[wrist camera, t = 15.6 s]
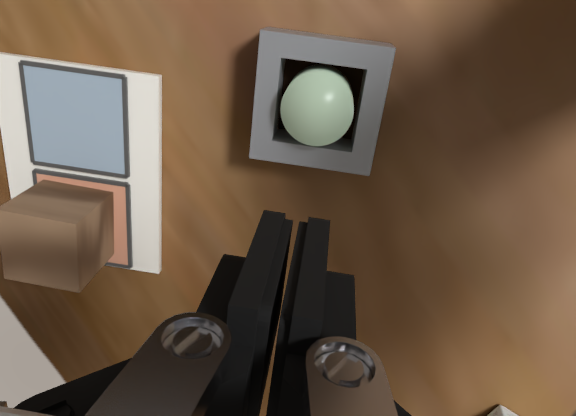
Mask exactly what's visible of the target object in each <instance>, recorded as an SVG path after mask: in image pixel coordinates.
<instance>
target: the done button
mask: <svg viewBox="0 0 576 416" xmlns="http://www.w3.org/2000/svg"><path fill="white" fill-rule="evenodd" d="M280 112H281V118H282V122H283V124H284V126H285V128H286V130H287V131H288V133H289V134H290V135H291V136H292V137H293V138H295V139H296V140H298V141H299V142H301V143H303V144H306V145H310V146H324V145H328V144H331V143H333V142H335V141H337V140H338V139H340V138H341V137H342V136H343V135H344V134H345V133H346V131H347V130H348V129H349V127H350V125H351V122H352V119H353V115H354V103H353V94H352V88H351V85H350V83H349V81H348V79H347V78H346V76H345V75H344V74H343V73H342V72H341V71H339V70H338V69H336V68H335V67H332V66H330V65H325V64H315V65H311V66H308V67H306V68H304V69H302V70H301V71H299V72H298V73H297V74H296V75H295V77H294V78H293V79H292V81H291V83H290V84H289V86H288V88H287V89H286V91H285V93H284V95H283V98H282V101H281V108H280Z"/></svg>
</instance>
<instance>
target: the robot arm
mask: <svg viewBox="0 0 576 416" xmlns="http://www.w3.org/2000/svg"><path fill="white" fill-rule="evenodd" d="M292 224H293V220H288V219H285V213H280V212H273V211H267V210H264V211H263V214H262V217H261V219H260V222H259V225H258V227H257V230H256V233H255V235H254V238H253V240H252V243H251V246H250V248H249V251H248V254H247V256H246V258H245V257H239V256H233V255H227V254H224V255H223V257H222V258H221V261H220V263H219V265H218V267H217V269H216V271H215V273H214V275H213V278H212V280H211V282H210V284H209V286H208V288H207V290H206V292H205V295H204V297H203V299H202V301H201V303H200V305H199V307H198V309H197V312H189V313H182V314H178V315H175V316H173V317H170V318H168V319H166V320H165V321H164V322H162V323H161V324H160V325H159V326H158V327H157V328H156V329H155V331H154V332H153V333H152V334H151V335H150V337H149V338H148V339H147V340H146V341H145V343H144V344H143V345H142V346H141V348H140V349H139V350H138V351H137V352H136V354H135V355H134V356H133V357H132V358H130V359H128V360H125V361H122V362H120V363H117V364H115V365H112V366H109V367H107V368H104V369H102V370H99V371H96V372H94V373H91V374H89V375H86V376H84V377H81V378H78V379H76V380H73V381H71V382H68V383H65V384H63V385H60V386H58V387H55V388H52V389H50V390H47V391H45V392H42V393H40V394H37V395H35V396H33V397H31V398H29V399H27V400H25V401H23V402H21V403H20V404H18V405H17V406H16V407H15V408H8V407H7V402H6V401H3V402H2V401H0V416H259V413H260V409H261V404H262V399H263V394H264V389H265V384H266V379H267V375H268V370H269V365H270V360H271V355H272V350H273V345H274V341H275V336H276V331H277V326H278V321H279V316H280V310H281V303H282V296H283V289H284V281H285V274H286V267H287V260H288V253H289V245H290V238H291V231H292ZM329 228H330V220H324V219H318V218H311V217H309V219H308V223H307V222H299V226H298V231H297V236H296V241H295V246H294V251H293V256H292V261H291V265H290V270H289V275H288V280H287V285H286V290H285V295H284V300H283V305H282V310H281V316H280V322H279V328H278V336H277V343H276V350H275V357H274V364H273V371H272V378H271V386H270V393H269V400H268V407H267V414H266V416H411V415H410V414H409V413H408V412H407V411H405V410H404V409H403V408H402V407H401V406H400V405H399V404H398V403H396V402H395V401H394V400H393V397H392V393H391V390H390V387H389V383H388V380H387V377H386V373H385V370H384V367H383V364H382V362H381V360H380V358H379V357H378V355H377V354H376V353H375V352H374V351H373V350H372V349H371V348H369V347H368V346H366V345H365V344H363V343H361V342H359V341H356V315H355V281H354V275H349V274H343V273H337V272H331V271H326V270H327V256H328V242H329Z"/></svg>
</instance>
